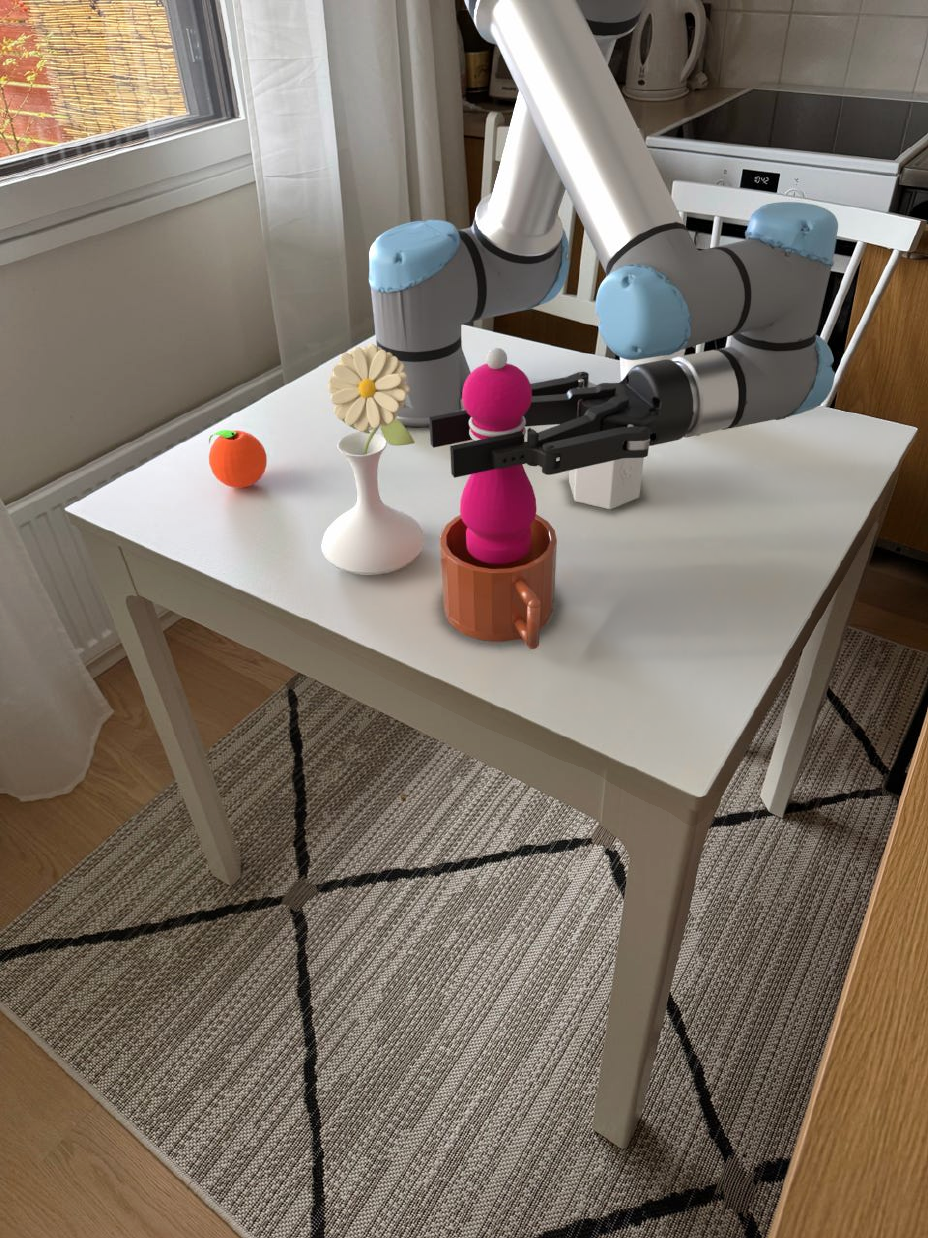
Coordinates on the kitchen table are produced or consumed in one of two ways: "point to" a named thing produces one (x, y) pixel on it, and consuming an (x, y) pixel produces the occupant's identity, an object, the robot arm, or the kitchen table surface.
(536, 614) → the terracotta coffee mug
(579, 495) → the jar
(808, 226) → the robot arm
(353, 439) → the flower in vase
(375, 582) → the kitchen table surface
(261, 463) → the clementine
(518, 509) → the pepper mill
